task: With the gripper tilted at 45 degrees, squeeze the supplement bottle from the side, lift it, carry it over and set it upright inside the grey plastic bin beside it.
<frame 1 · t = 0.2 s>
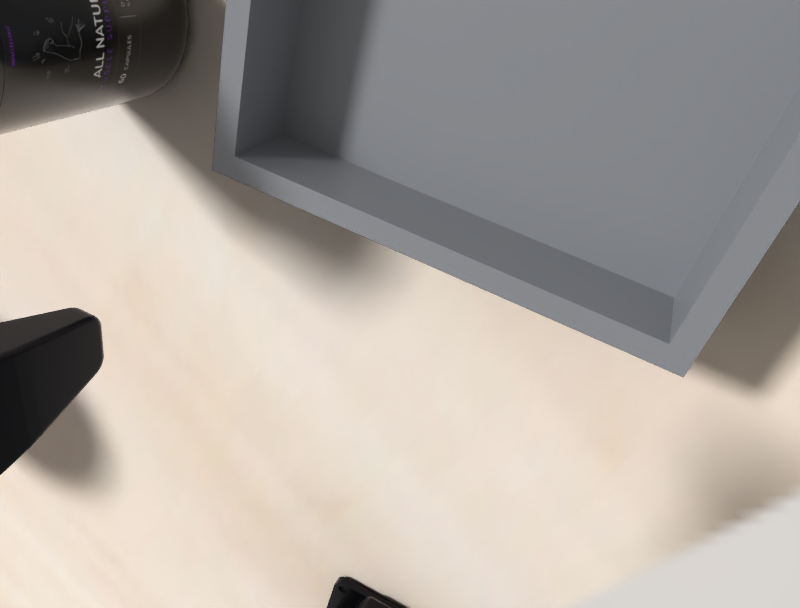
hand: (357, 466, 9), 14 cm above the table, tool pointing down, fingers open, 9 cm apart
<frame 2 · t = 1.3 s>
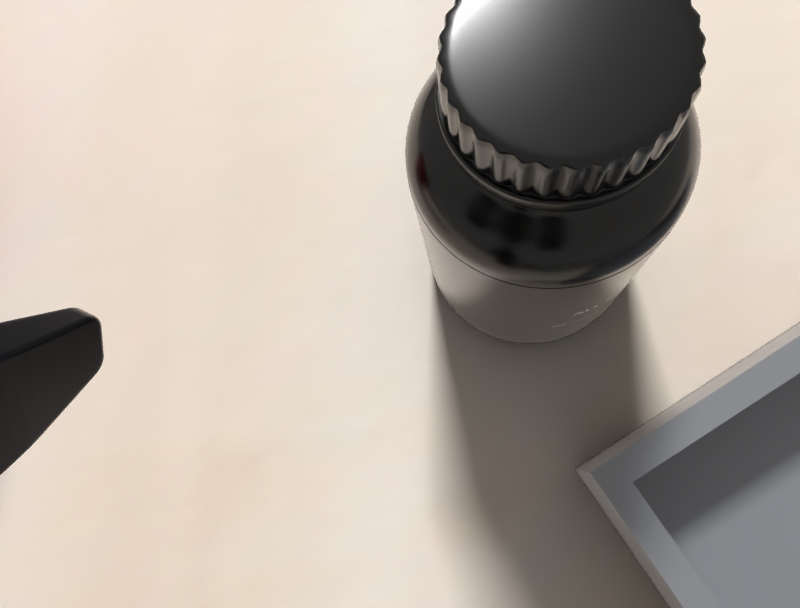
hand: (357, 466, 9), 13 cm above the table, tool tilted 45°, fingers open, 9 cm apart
supplement bottle: (527, 252, 23), on the table
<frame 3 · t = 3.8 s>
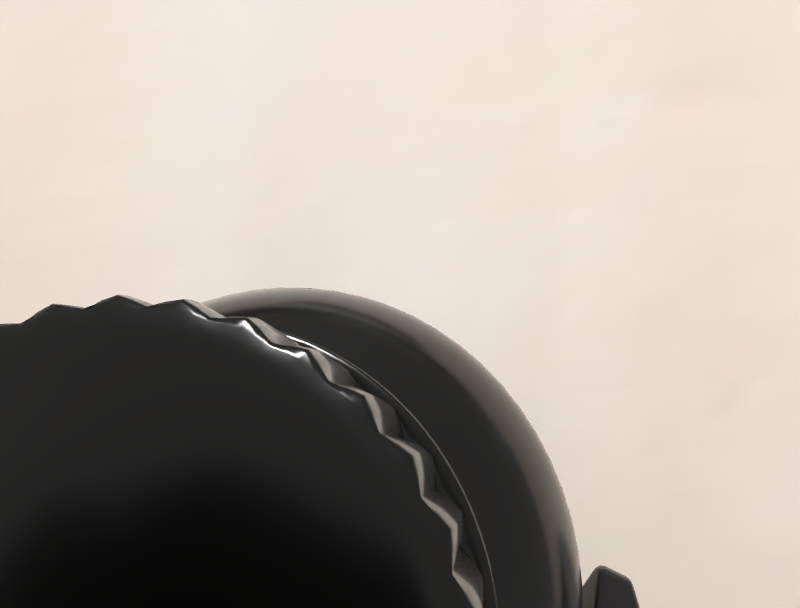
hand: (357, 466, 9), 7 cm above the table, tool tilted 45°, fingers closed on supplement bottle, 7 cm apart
supplement bottle: (386, 513, 15), on the table, touching gripper
when the fingers open (9 cm above the table, at t = 8.4 s): supplement bottle drops 2 cm, resting on bin.
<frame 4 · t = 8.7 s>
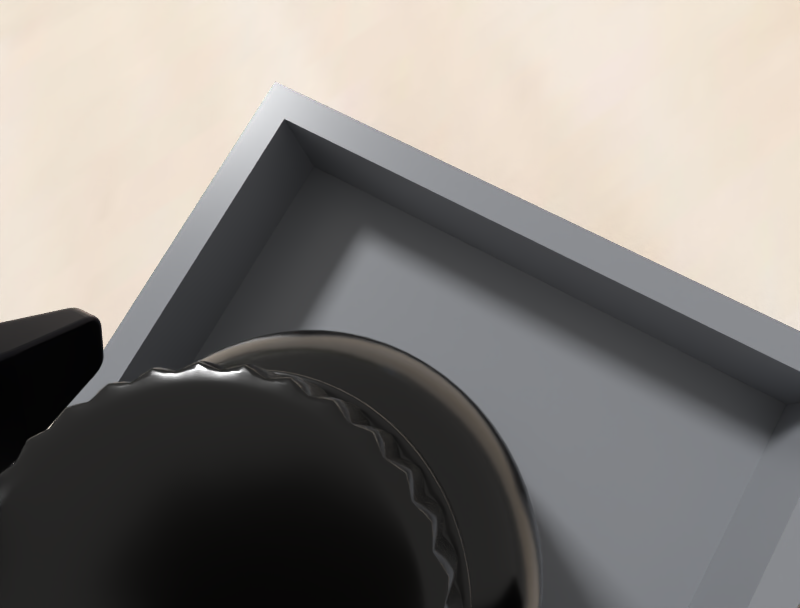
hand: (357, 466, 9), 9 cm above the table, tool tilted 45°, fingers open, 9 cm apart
supplement bottle: (387, 512, 17), resting on bin
bin: (402, 506, 18), on the table
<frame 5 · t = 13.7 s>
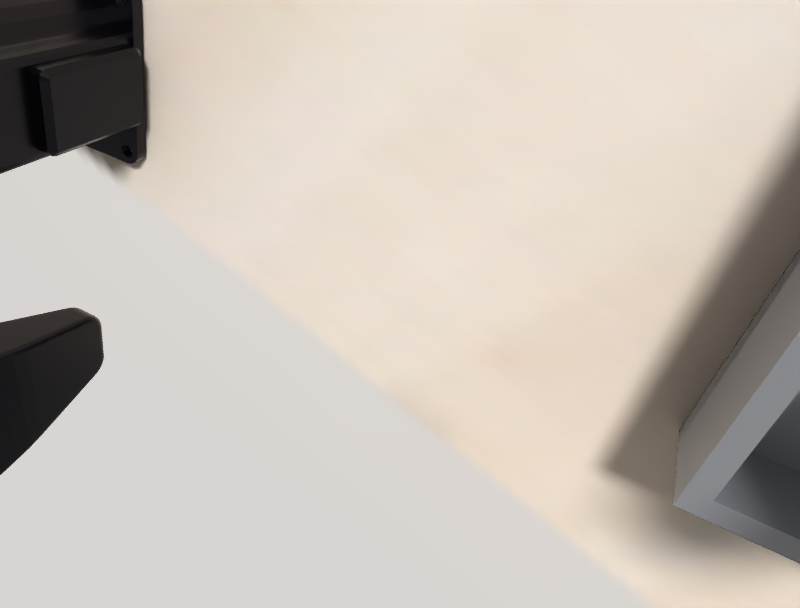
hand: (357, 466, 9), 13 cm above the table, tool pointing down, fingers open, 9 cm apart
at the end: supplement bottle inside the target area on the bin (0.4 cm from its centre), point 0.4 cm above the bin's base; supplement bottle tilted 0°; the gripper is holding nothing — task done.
